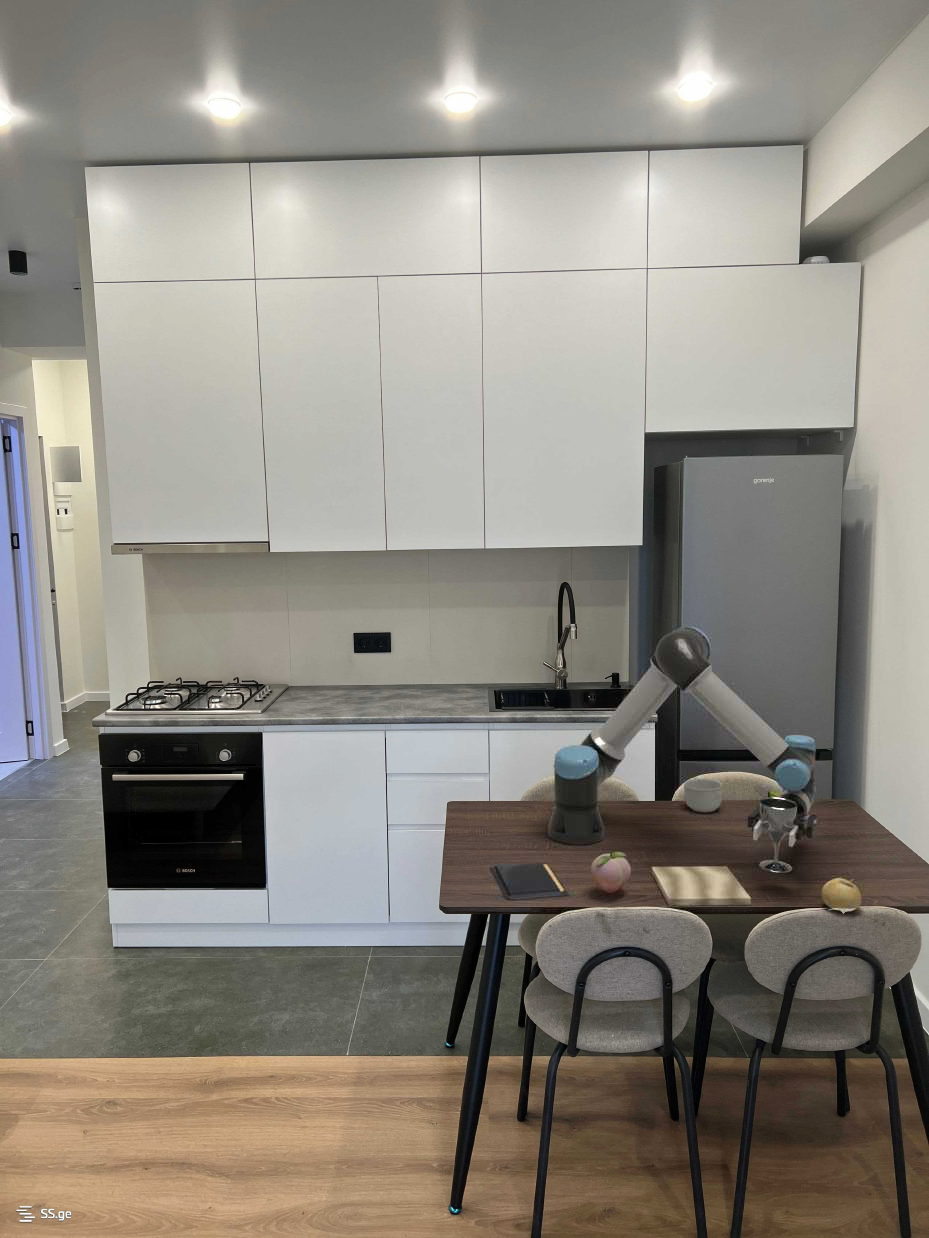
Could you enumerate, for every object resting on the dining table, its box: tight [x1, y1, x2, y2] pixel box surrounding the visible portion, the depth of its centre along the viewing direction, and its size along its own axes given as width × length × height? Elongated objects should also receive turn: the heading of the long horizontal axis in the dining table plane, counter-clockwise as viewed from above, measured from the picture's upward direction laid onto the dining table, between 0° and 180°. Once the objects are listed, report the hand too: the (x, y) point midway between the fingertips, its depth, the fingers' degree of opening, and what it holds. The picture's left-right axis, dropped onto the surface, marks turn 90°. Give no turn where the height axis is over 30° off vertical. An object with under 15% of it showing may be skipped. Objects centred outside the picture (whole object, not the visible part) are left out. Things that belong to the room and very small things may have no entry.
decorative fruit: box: [590, 850, 632, 894], centre depth 198 cm, size 9×8×10 cm
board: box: [651, 865, 752, 907], centre depth 200 cm, size 18×18×2 cm
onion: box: [820, 877, 862, 909], centre depth 189 cm, size 8×8×7 cm
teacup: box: [683, 776, 723, 813], centre depth 256 cm, size 14×11×8 cm
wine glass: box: [758, 797, 797, 874], centre depth 198 cm, size 8×8×15 cm
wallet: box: [489, 862, 570, 902], centre depth 205 cm, size 20×2×15 cm
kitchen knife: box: [752, 784, 781, 798], centre depth 264 cm, size 22×1×3 cm, turn 6°
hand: (772, 837), depth 193 cm, fingers closed on wine glass, 7 cm apart
